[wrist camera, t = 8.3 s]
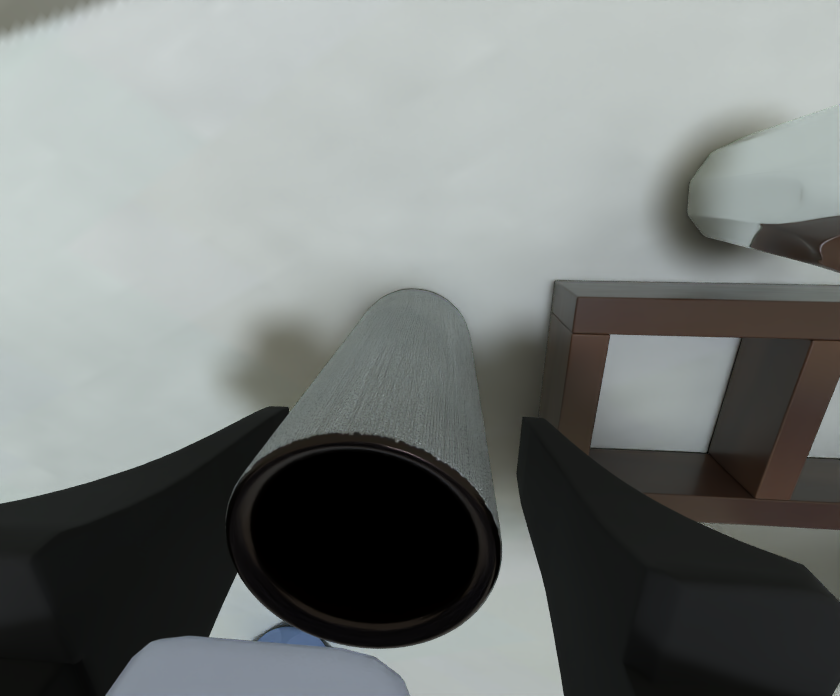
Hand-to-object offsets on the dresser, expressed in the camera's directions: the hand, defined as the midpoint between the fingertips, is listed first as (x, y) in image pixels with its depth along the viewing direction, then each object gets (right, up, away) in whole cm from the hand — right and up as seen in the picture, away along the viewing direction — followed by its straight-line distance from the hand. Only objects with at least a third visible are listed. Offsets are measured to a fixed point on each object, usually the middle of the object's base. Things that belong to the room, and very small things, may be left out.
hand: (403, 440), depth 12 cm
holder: (+13, +1, +4) cm, 14 cm away
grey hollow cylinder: (0, +3, +4) cm, 5 cm away
